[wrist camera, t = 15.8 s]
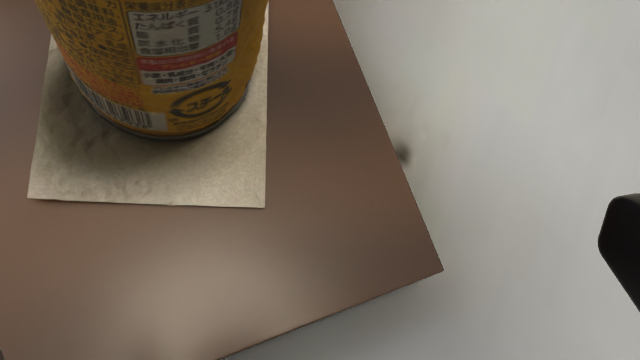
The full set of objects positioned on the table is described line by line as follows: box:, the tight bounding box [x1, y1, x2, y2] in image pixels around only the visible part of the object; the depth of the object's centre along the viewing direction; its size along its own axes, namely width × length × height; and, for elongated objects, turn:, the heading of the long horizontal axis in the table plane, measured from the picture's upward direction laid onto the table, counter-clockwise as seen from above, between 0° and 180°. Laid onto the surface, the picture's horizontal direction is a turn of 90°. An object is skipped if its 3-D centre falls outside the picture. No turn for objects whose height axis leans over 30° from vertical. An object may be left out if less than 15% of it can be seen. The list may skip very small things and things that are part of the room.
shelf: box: [0, 0, 444, 360], centre depth 19 cm, size 18×14×6 cm
